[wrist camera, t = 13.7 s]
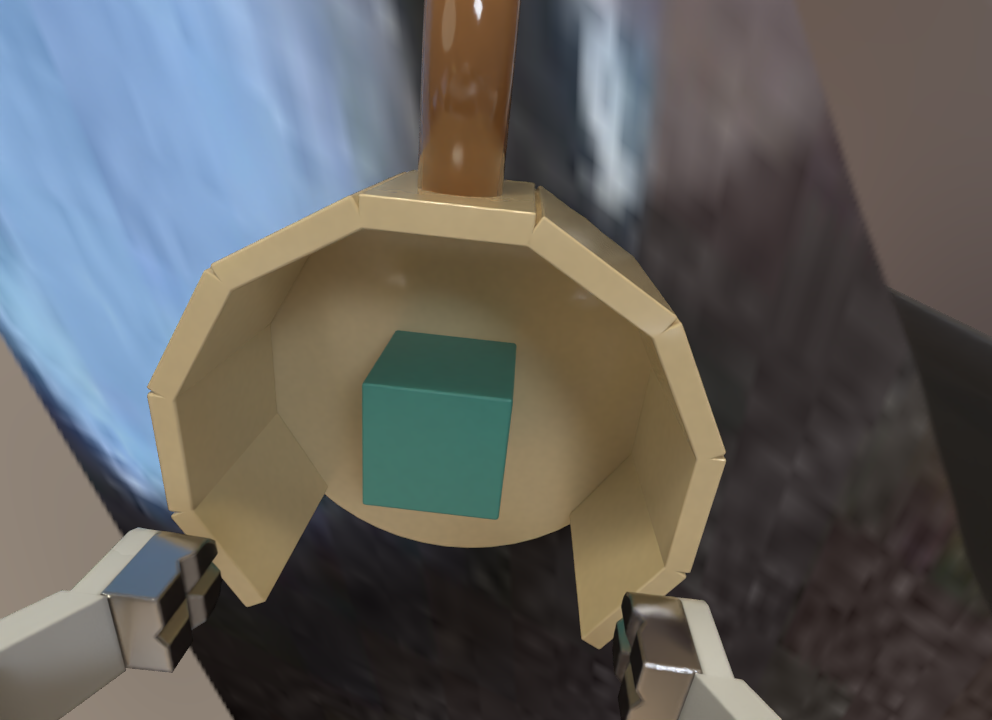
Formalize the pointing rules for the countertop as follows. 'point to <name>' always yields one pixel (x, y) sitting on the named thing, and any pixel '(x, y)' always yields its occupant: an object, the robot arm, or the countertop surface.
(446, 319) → the tan scoop with handle
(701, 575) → the countertop surface
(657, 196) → the countertop surface
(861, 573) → the countertop surface
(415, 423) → the block
